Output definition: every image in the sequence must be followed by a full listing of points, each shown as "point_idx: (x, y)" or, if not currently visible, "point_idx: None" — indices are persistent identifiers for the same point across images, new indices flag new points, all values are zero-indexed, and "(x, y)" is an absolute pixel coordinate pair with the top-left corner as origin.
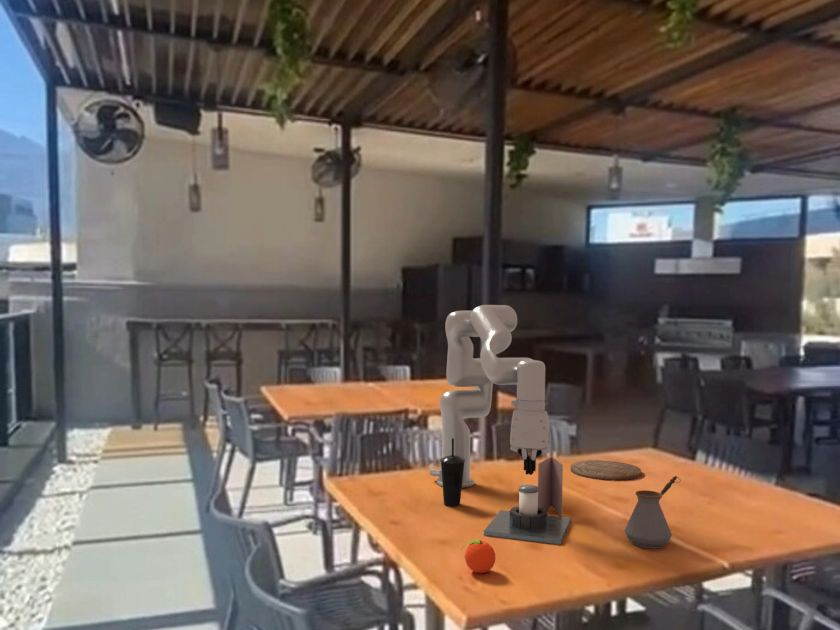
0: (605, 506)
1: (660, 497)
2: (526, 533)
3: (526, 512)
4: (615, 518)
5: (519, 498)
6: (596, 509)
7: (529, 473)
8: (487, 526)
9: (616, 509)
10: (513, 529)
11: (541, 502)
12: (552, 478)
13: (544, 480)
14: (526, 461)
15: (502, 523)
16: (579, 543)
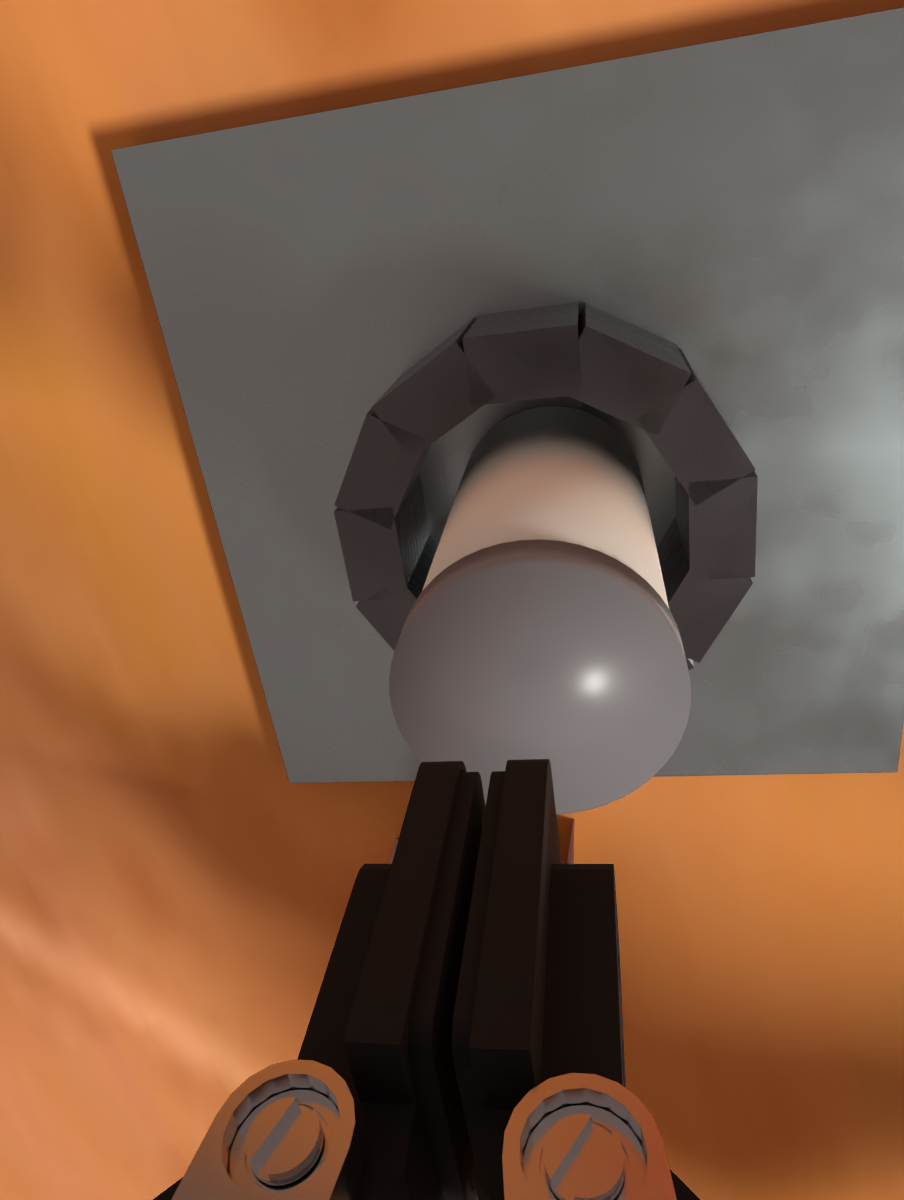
0: (237, 1087)
1: None
2: (478, 181)
3: (539, 449)
4: (95, 920)
5: (653, 559)
6: (260, 1031)
7: (466, 778)
8: None
9: (164, 1057)
10: (644, 245)
11: None
12: None
13: None
14: (513, 1004)
15: (806, 391)
16: (29, 293)
